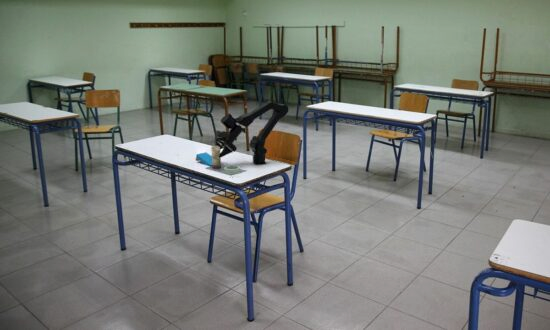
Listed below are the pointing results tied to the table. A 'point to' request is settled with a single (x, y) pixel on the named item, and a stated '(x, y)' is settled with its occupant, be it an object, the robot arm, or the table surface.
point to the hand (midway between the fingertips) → (215, 155)
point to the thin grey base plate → (228, 169)
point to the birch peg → (216, 157)
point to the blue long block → (204, 158)
